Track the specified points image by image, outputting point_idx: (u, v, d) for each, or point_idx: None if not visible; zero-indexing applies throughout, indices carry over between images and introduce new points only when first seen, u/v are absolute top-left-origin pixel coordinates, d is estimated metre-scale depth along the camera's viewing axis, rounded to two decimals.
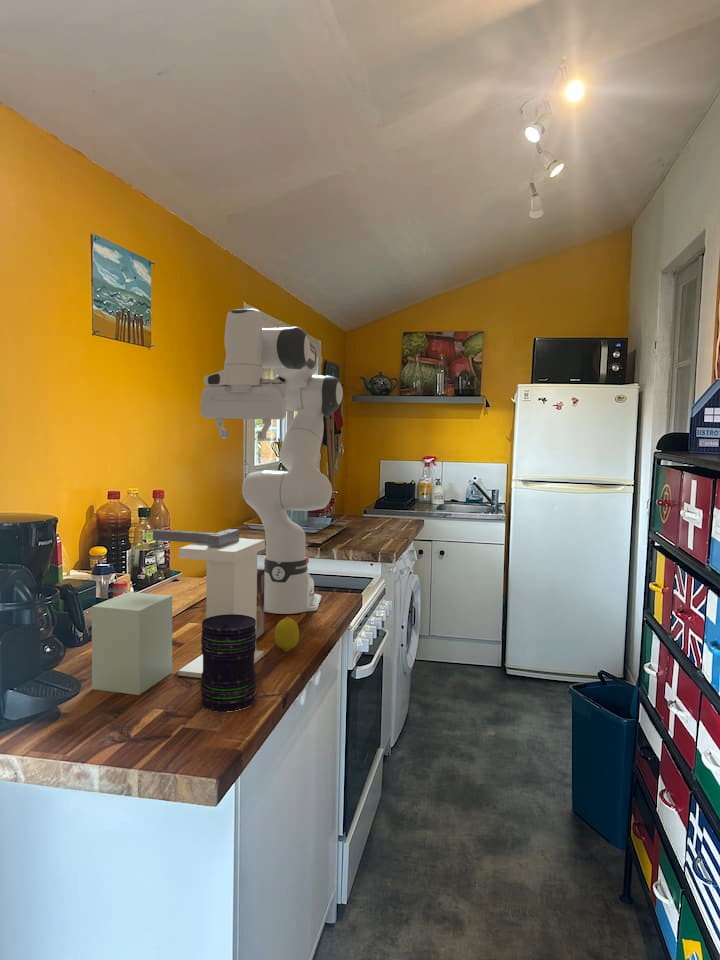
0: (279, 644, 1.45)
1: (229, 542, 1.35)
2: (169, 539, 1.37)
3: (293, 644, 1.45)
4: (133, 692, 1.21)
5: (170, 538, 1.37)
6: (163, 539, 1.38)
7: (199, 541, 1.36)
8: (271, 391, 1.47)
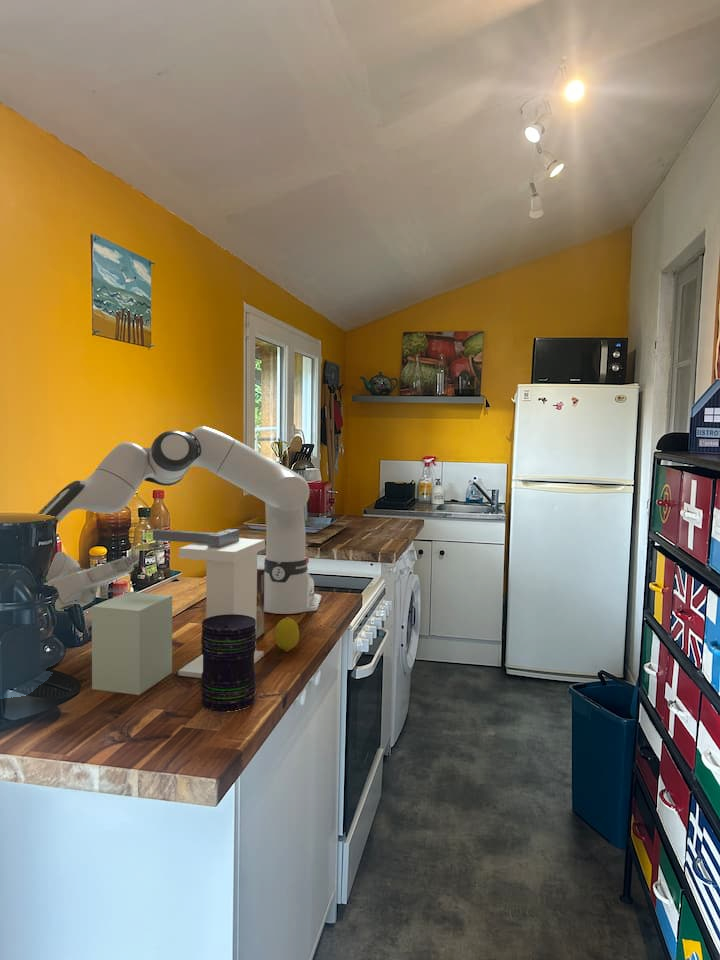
0: (279, 644, 1.45)
1: (229, 542, 1.35)
2: (169, 539, 1.37)
3: (293, 644, 1.45)
4: (133, 692, 1.21)
5: (170, 538, 1.37)
6: (163, 539, 1.38)
7: (199, 541, 1.36)
8: None
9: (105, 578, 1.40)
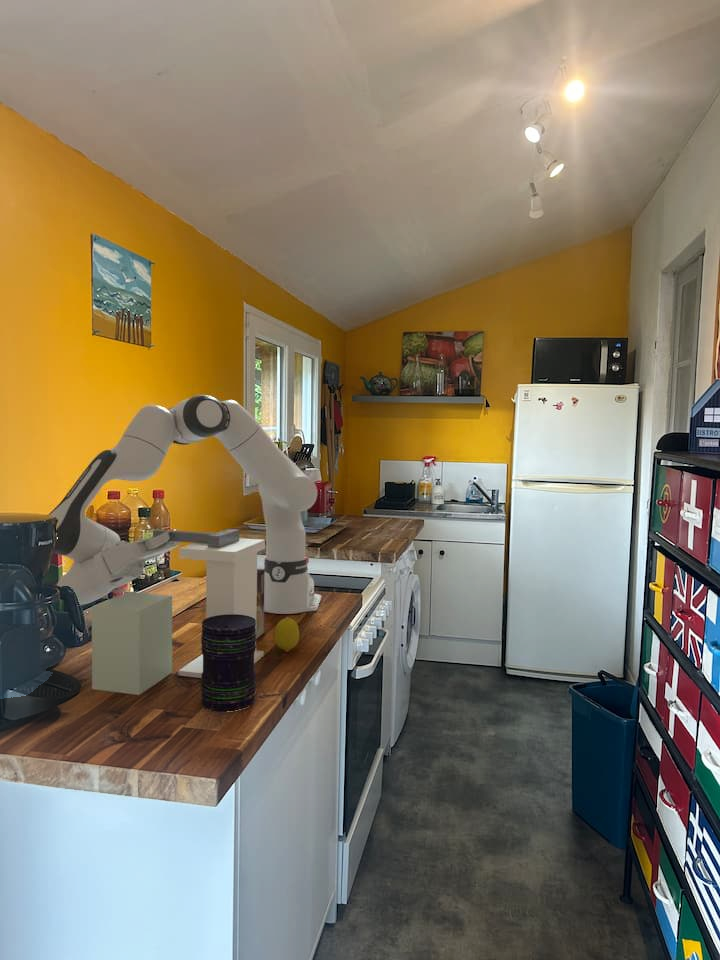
0: (279, 644, 1.45)
1: (229, 542, 1.35)
2: None
3: (293, 644, 1.45)
4: (133, 692, 1.21)
5: None
6: None
7: (199, 541, 1.36)
8: None
9: (154, 550, 1.37)
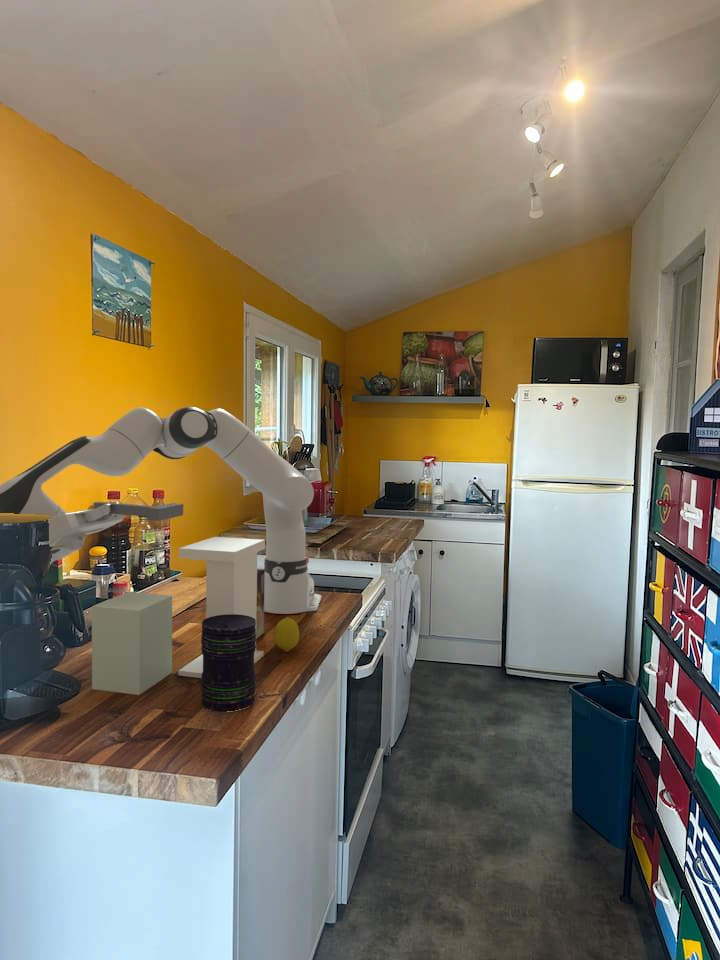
0: (279, 644, 1.45)
1: (171, 516, 1.32)
2: None
3: (293, 644, 1.45)
4: (133, 692, 1.21)
5: None
6: None
7: (140, 514, 1.32)
8: None
9: (94, 523, 1.34)
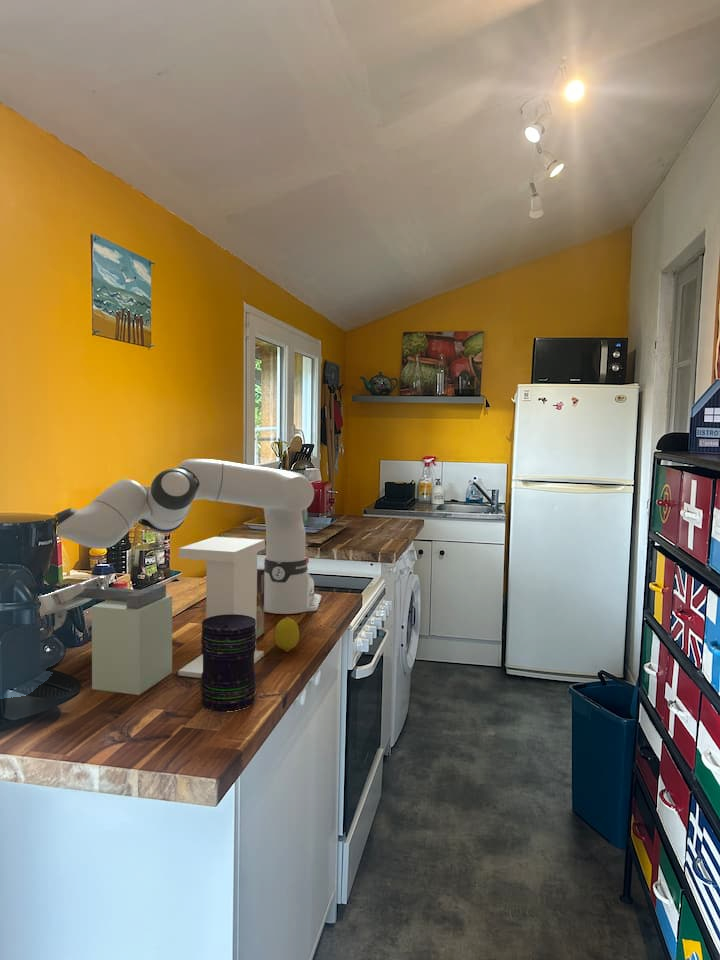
0: (279, 644, 1.45)
1: (152, 600, 1.26)
2: (88, 596, 1.28)
3: (293, 644, 1.45)
4: (133, 692, 1.21)
5: (90, 596, 1.28)
6: (83, 596, 1.28)
7: (120, 599, 1.26)
8: None
9: (73, 601, 1.28)
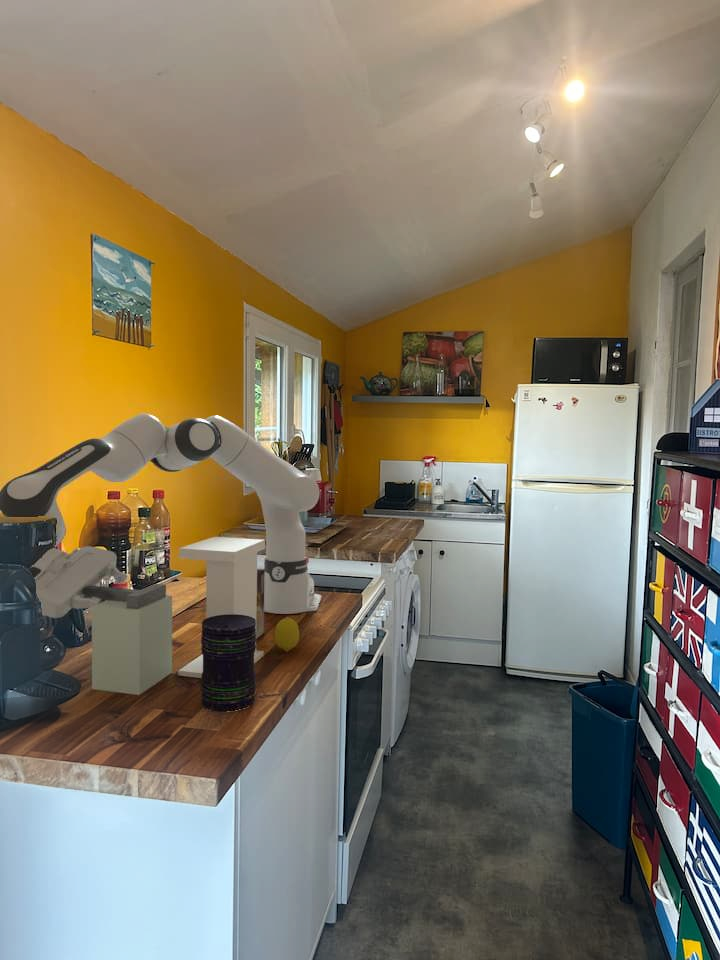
0: (279, 644, 1.45)
1: (152, 600, 1.26)
2: (88, 596, 1.28)
3: (293, 644, 1.45)
4: (133, 692, 1.21)
5: (90, 596, 1.28)
6: None
7: (120, 599, 1.26)
8: (85, 549, 1.36)
9: (84, 595, 1.28)
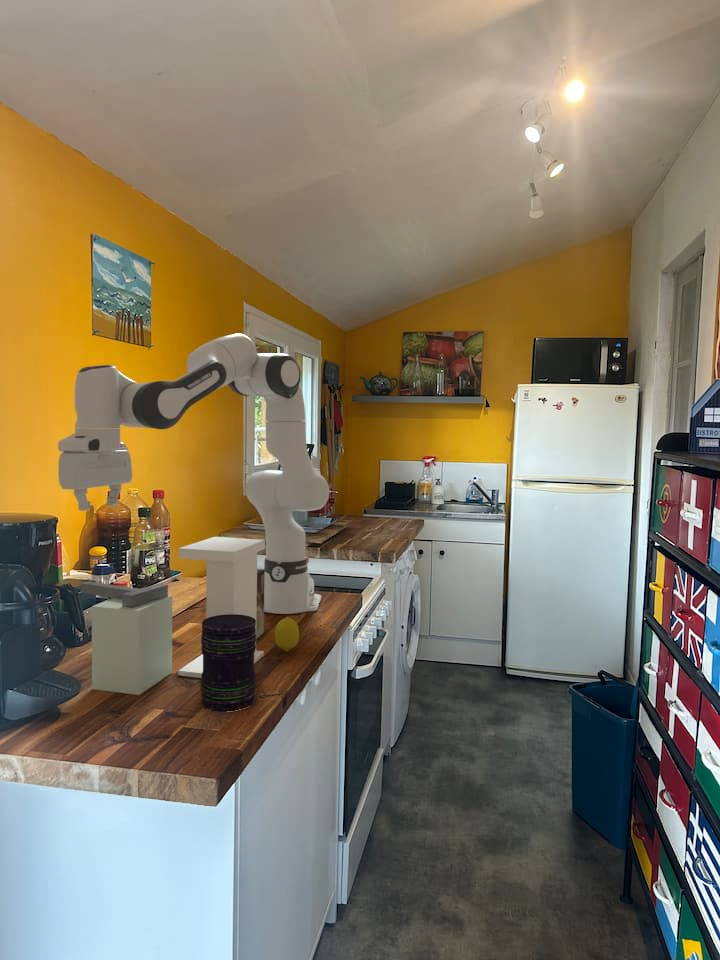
0: (279, 644, 1.45)
1: (150, 600, 1.26)
2: (94, 593, 1.30)
3: (293, 644, 1.45)
4: (133, 692, 1.21)
5: (96, 592, 1.30)
6: (89, 593, 1.31)
7: (121, 597, 1.28)
8: (126, 455, 1.43)
9: None
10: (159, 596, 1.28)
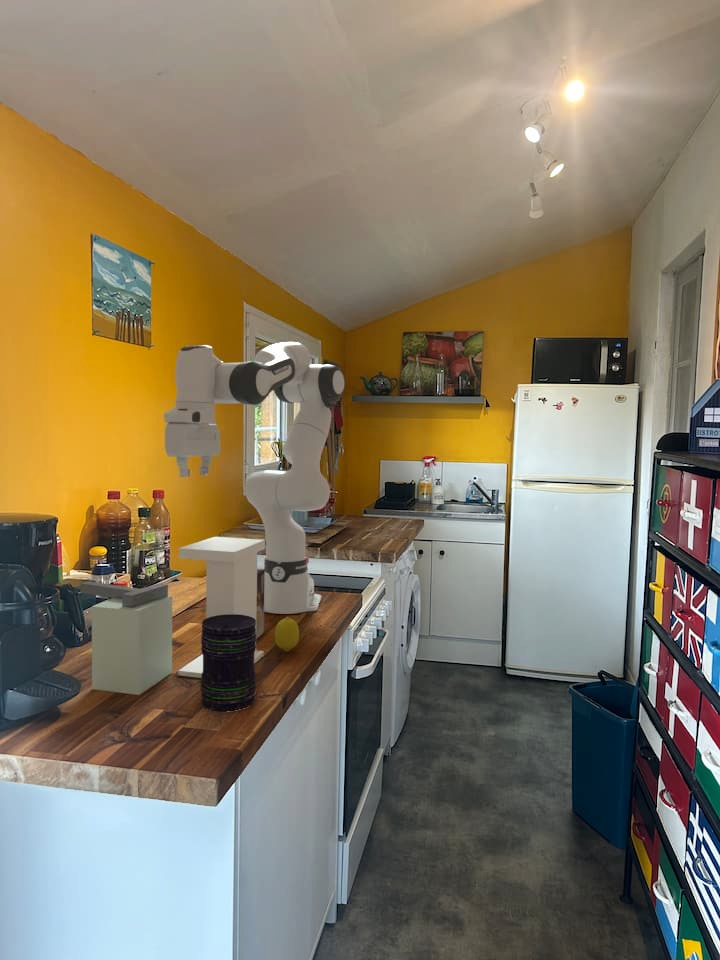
0: (279, 644, 1.45)
1: (150, 600, 1.26)
2: (94, 593, 1.30)
3: (293, 644, 1.45)
4: (133, 692, 1.21)
5: (96, 592, 1.30)
6: (89, 593, 1.31)
7: (121, 597, 1.28)
8: (217, 429, 1.56)
9: None
10: (159, 596, 1.28)
